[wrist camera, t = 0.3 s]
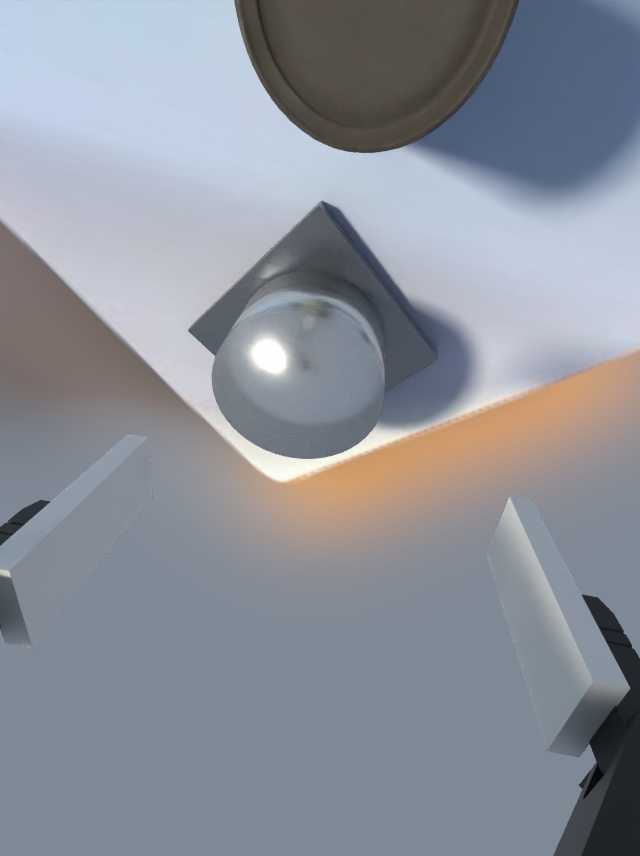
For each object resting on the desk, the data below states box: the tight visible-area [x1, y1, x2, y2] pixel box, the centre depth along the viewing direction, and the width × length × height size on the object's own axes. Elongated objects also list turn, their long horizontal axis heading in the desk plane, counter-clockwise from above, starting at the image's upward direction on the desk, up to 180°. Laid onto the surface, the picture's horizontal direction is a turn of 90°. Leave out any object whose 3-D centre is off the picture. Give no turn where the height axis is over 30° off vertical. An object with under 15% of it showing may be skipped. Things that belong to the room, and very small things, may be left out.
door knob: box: [188, 201, 438, 459], centre depth 36 cm, size 16×16×10 cm
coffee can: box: [234, 0, 519, 153], centre depth 20 cm, size 10×10×14 cm
